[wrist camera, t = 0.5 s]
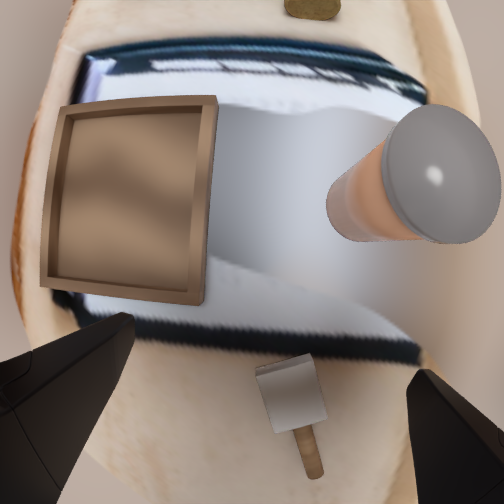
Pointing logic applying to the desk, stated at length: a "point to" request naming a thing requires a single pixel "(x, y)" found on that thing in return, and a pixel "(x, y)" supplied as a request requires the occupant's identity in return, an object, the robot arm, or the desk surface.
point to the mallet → (295, 404)
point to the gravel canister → (420, 183)
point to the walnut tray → (130, 198)
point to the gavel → (313, 8)
